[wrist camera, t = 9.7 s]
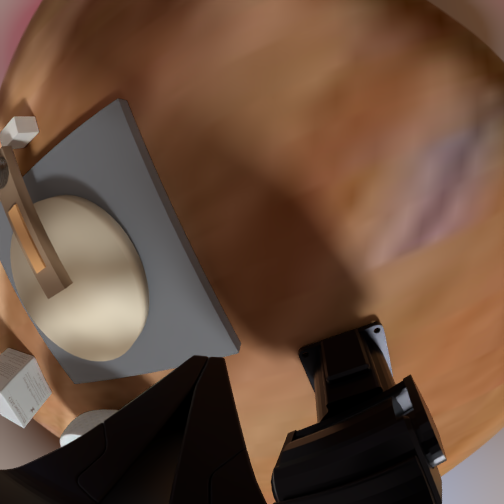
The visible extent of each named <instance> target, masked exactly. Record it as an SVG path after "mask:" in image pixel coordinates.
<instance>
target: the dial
mask: <svg viewBox="0 0 504 504" xmlns="http://www.w3.org/2000/svg"><path fill="white" fill-rule="evenodd" d="M0 200H1V203H2V206H3V208H4V211H5V213H6V216H7V218H8V221H9V223H10V225H11V228H12V230H13V235H12V239H11V248H10V259H11V269H12V274H13V279H14V282H15V286H16V289H17V291H18V294H19V296H20V299H21V301H22V303H23V305H24V307H25V309H26V310H27V312H28V314H29V315H30V317H31V318H32V320H33V321H34V322H35V324H36V325H37V326H38V327H39V329H40V330H41V331H42V332H43V333H44V334H45V335H46V336H47V337H48V338H49V339H50V340H51V341H53V342H54V343H55V344H56V345H58V346H59V347H60V348H62V349H64V350H65V351H67V352H69V353H71V354H72V355H74V356H77V357H80V358H82V359H86V360H90V361H109V360H113V359H116V358H118V357H120V356H122V355H123V354H125V353H126V352H127V351H128V350H129V349H130V348H131V346H132V345H133V343H134V342H135V341H136V339H137V338H138V336H139V335H140V333H141V332H142V330H143V328H144V326H145V324H146V321H147V317H148V312H149V289H148V282H147V278H146V274H145V270H144V268H143V265H142V262H141V260H140V257H139V255H138V253H137V251H136V249H135V247H134V245H133V243H132V242H131V240H130V239H129V237H128V235H127V234H126V233H125V231H124V230H123V229H122V227H121V226H120V225H119V224H118V223H117V222H116V221H115V220H114V218H113V217H112V216H111V215H109V214H108V213H107V212H106V211H105V210H103V209H102V208H101V207H99V206H98V205H96V204H95V203H93V202H91V201H89V200H87V199H84V198H82V197H78V196H74V195H58V196H54V197H51V198H48V199H44V200H41V201H38V202H36V203H34V204H33V203H32V200H31V198H30V195H29V193H28V190H27V188H26V185H25V183H24V180H23V178H22V175H21V172H20V169H19V167H18V164H17V161H16V158H15V155H14V152H13V149H12V146H2V147H1V149H0Z"/></svg>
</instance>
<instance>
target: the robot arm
mask: <svg viewBox="0 0 504 504" xmlns="http://www.w3.org/2000/svg"><path fill="white" fill-rule="evenodd" d="M376 328H378V330H375V331H374V329H376ZM304 352H307V353H308V354H303V353H304ZM299 358H300V360H301V362H302V365H303V367H304V369H305V371H306V374H307V376H308V378H309V381H310V383H311V385H312V387H313V390H314V392H315V398H316V410H317V422H318V423H316V424H314V425H312V426H309V427H307V428H304V429H301V430H299V431H296V430H295V431H292V432H290V433H288V435H287V437H286V440H285V443H284V445H283V448H282V450H281V453H280V456H279V458H278V460H277V463H276V465H275V468H274V470H273V473H272V479H271V486H272V492H273V496H274V498H275V501H276V502H275V503H273V504H442V480H441V476H440V474H439V471H438V468H437V465H439V464H441V463H443V462H444V461H446V460H447V459H446V455H445V452H444V448H443V445H442V442H441V438H440V435H439V432H438V430H437V428H436V425H435V423H434V421H433V418H432V416H431V414H430V411H429V409H428V407H427V405H426V403H425V401H424V399H423V397H422V395H421V393H420V391H419V389H418V387H417V386H416V384H415V382H414V380H413V378H412V376H411V374H410V375H409V376H407V377H405V378H404V379H403V381H401V382H400V383H398V384H395V382H394V379H393V375H392V369H391V363H390V358H389V353H388V348H387V343H386V338H385V333H384V328H383V326H382V324H381V323H380V322H374V323H372V324H369V325H366V326H363V327H361V328H358V329H355V330H351V331H349V332H346V333H343V334H340V335H337V336H334V337H331V338H328V339H325V340H323V341H320V342H317V343H314V344H311V345H307V346H304V347H302V348H300V349H299ZM0 504H267V503H266V501H265V499H264V496H263V494H262V492H261V490H260V488H259V485H258V483H257V481H256V478H255V475H254V472H253V469H252V466H251V463H250V459H249V455H248V452H247V449H246V445H245V441H244V437H243V433H242V429H241V425H240V421H239V417H238V413H237V409H236V405H235V401H234V397H233V393H232V389H231V384H230V380H229V376H228V371H227V367H226V363H225V359H224V358H222V357H209V358H208V357H207V356H200V355H193V356H192V357H190V358H189V359H188V360H186V361H185V362H184V363H182V364H181V365H180V366H178V367H177V368H176V369H175V370H173V371H172V372H171V373H169V374H168V375H167V376H165V377H164V378H163V379H161V380H160V381H158V382H157V383H156V384H154V385H153V386H152V387H150V388H149V389H148V390H146V391H145V392H144V393H142V394H141V395H139V396H138V397H137V398H135V399H134V400H132V401H131V402H130V403H128V404H127V405H126V406H124V407H123V408H121V409H120V410H118V411H117V412H116V413H114V414H113V415H111V416H110V417H109V418H107V419H106V420H104V423H100V424H98V425H97V426H95V427H94V428H92V429H91V430H89V431H88V432H86V433H85V434H83V435H82V436H80V437H78V438H77V439H75V440H73V441H71V442H70V443H68V444H66V445H64V446H62V447H60V448H58V449H56V450H55V451H52V452H50V453H48V454H47V455H44V456H42V457H40V458H38V459H36V460H34V461H32V462H29V463H27V464H25V465H23V466H20V467H17V468H13V469H7V470H0Z"/></svg>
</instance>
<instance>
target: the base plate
mask: <svg viewBox="0 0 504 504" xmlns="http://www.w3.org/2000/svg"><path fill="white" fill-rule="evenodd" d="M38 133H39V130H38V126H37V123H36V119H35V117H33V116H14V117H13V118H12V119H11V120H10V122H9V123H8V124H7V125H6V126H5V127H4V129H3V130H2V131H1V132H0V140H1V144H2V146H12V149H19V148H24V147H25V146H26V145H27V144H28V143H29V142H30V141H31V140H32V139H33V138H34V137H35V136H36V135H37V134H38ZM22 178H23V180H24V183H25V185H26V188H27V190H28V193H29V195H30V198H31V200H32V203H33V204H34V203H36V202H38V201H41V200H44V199H48V198H51V197H54V196H58V195H74V196H78V197H82V198H84V199H87V200H89V201H91V202H93V203H95V204H96V205H98V206H99V207H101V208H102V209H103V210H105V211H106V212H107V213H108V214H109V215H111V216H112V217H113V218H114V220H115V221H116V222H117V223H118V224H119V225H120V226H121V227H122V229H123V230H124V231H125V233H126V234H127V235H128V237H129V239H130V240H131V242H132V243H133V245H134V247H135V249H136V251H137V253H138V255H139V257H140V260H141V262H142V265H143V268H144V270H145V274H146V278H147V282H148V289H149V312H148V317H147V321H146V324H145V326H144V328H143V330H142V332H141V333H140V335H139V336H138V338H137V339H136V341H135V342H134V343H133V345H132V346H131V348H130V349H129V350H128V351H127V352H126V353H125V354H123V355H122V356H120V357H118V358H116V359H113V360H109V361H90V360H86V359H82V358H80V357H77V356H74V355H72V354H71V353H69V352H67V351H65V350H64V349H62V348H60V347H59V346H58V345H56V344H55V343H54V342H53V341H51V340H50V339H49V338H48V337H47V336H46V335H45V334H44V333H43V332H42V331H41V330H40V329H39V327H38V326H37V325H36V324H35V322H34V321H33V320H32V318H31V317H30V315H29V314H28V312H27V310H26V309H25V310H26V312H27V314H28V316H29V317H30V319H31V321H32V322H33V324H34V326H35V327H36V329H37V331H38V332H39V334H40V335H41V337H42V338H43V340H44V342H45V343H46V345H47V346H48V348H49V349H50V351H51V352H52V354H53V355H54V356H55V358H56V359H57V361H58V362H59V364H60V365H61V366H62V368H63V369H64V370H65V372H66V373H67V375H68V376H69V377H70V378H71V380H72V381H73V382H74V384H80V383H88V382H96V381H103V380H110V379H116V378H123V377H129V376H135V375H141V374H146V373H152V372H157V371H162V370H167V369H172V368H177V367H178V366H180V365H181V364H182V363H184V362H185V361H186V360H188V359H189V358H190V357H192V356H193V355H200V356H207V357H208V358H209V357H225V356H229V355H233V354H237V353H239V350H240V346H241V342H240V340H239V339H238V337H237V335H236V333H235V331H234V329H233V327H232V326H231V324H230V322H229V320H228V318H227V316H226V314H225V312H224V310H223V309H222V307H221V305H220V303H219V301H218V299H217V297H216V295H215V293H214V291H213V289H212V287H211V285H210V283H209V281H208V279H207V277H206V275H205V273H204V271H203V269H202V267H201V265H200V263H199V261H198V259H197V257H196V255H195V253H194V251H193V249H192V247H191V245H190V243H189V241H188V239H187V237H186V235H185V232H184V230H183V228H182V226H181V224H180V222H179V220H178V218H177V216H176V213H175V211H174V209H173V207H172V205H171V203H170V200H169V198H168V196H167V194H166V192H165V189H164V187H163V185H162V183H161V180H160V178H159V176H158V174H157V171H156V169H155V167H154V165H153V162H152V160H151V158H150V155H149V153H148V151H147V148H146V146H145V144H144V141H143V139H142V137H141V134H140V132H139V129H138V127H137V125H136V122H135V120H134V117H133V115H132V112H131V110H130V107H129V105H128V102H127V100H123V99H119V98H118V99H116V100H115V101H113V102H112V103H110V104H109V105H108V106H106V107H105V108H103V109H102V110H101V111H99V112H98V113H96V114H95V115H94V116H92V117H91V118H90V119H88V120H87V121H86V122H85V123H83V124H82V125H81V126H79V127H78V128H77V129H76V130H74V131H73V132H72V133H71V134H69V135H68V136H67V137H66V138H65V139H63V140H62V141H61V142H60V143H59V144H58V145H56V146H55V147H54V148H53V149H52V150H51V151H50V152H48V153H47V154H46V155H45V156H44V157H43V158H42V159H41V160H40V161H39V162H38V163H37V164H36V165H34V166H33V167H32V168H31V169H30V170H29V171H28V172H27V173H26V174H25V175H24V176H23V177H22ZM12 235H13V230H12V228H11V225H10V223H9V221H8V218H7V216H6V213H5V211H4V208H3V206H2V203H1V201H0V261H1V263H2V265H3V267H4V269H5V272H6V274H7V276H8V278H9V280H10V282H11V284H12V286H13V288H14V290H15V292H16V294H17V296H18V298H19V299H20V296H19V294H18V291H17V289H16V286H15V282H14V279H13V274H12V269H11V259H10V248H11V239H12ZM20 301H21V299H20ZM21 303H22V301H21ZM22 305H23V303H22ZM23 307H24V305H23ZM24 308H25V307H24Z"/></svg>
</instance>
